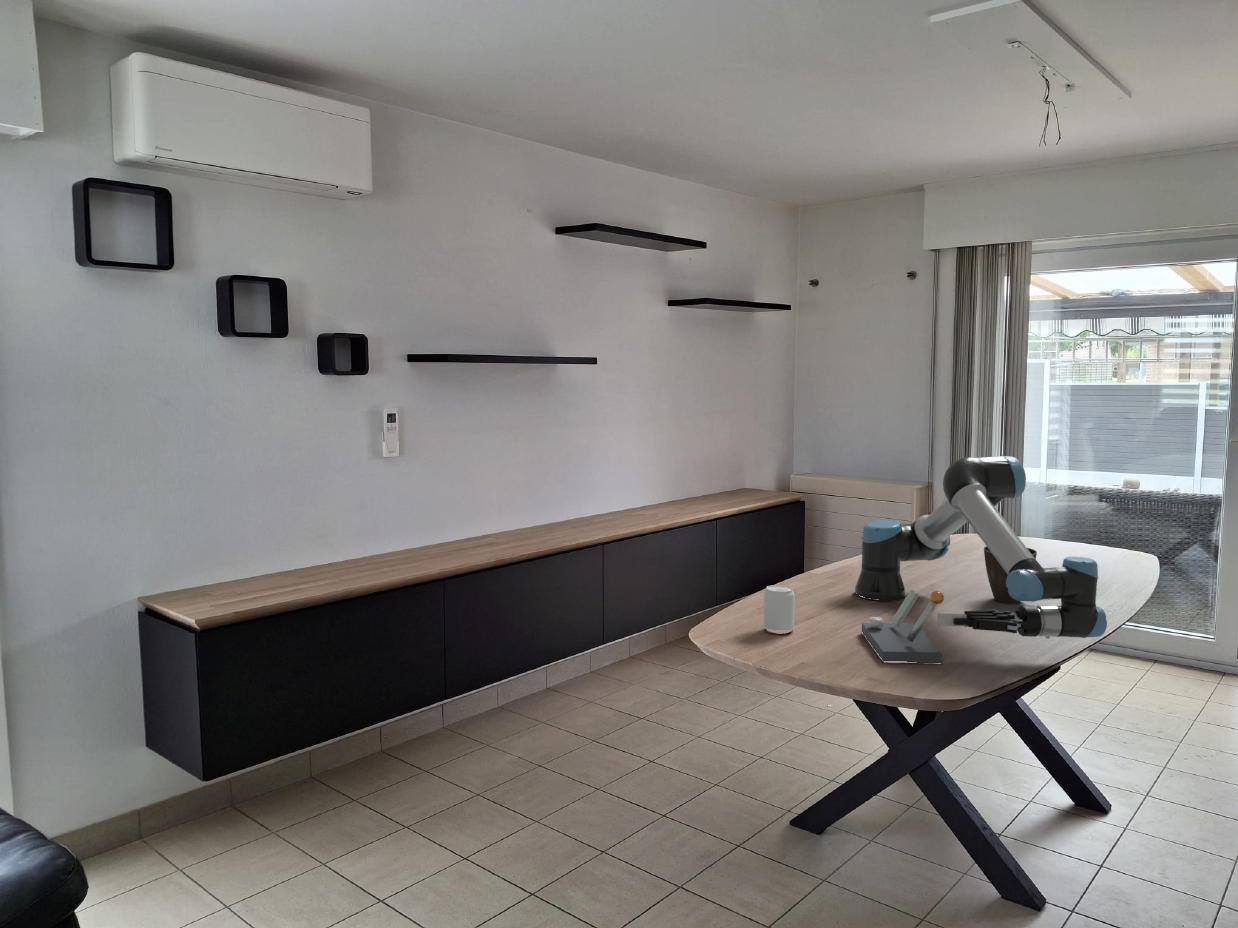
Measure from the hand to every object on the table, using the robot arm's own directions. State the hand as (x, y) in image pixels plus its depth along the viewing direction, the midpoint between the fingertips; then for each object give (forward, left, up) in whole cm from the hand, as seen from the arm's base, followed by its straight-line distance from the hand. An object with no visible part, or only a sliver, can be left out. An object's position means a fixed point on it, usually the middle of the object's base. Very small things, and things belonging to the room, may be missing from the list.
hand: (938, 619), depth 215 cm
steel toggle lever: (-3, -7, -6) cm, 10 cm away
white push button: (-18, -6, -7) cm, 20 cm away
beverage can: (-32, -27, -10) cm, 43 cm away
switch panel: (-10, -4, -10) cm, 14 cm away
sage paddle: (-16, -2, -6) cm, 17 cm away
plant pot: (-40, +55, -10) cm, 68 cm away
